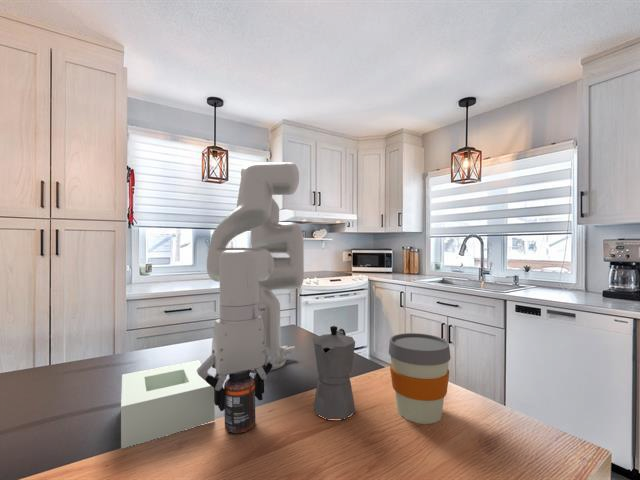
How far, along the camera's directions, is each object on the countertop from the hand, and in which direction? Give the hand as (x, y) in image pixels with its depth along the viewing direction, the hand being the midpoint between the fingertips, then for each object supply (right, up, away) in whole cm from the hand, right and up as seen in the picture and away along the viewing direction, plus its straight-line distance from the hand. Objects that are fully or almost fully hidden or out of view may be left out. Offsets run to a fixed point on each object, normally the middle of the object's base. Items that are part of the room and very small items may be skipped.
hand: (240, 401), depth 63 cm
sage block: (-16, -5, +4) cm, 18 cm away
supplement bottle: (0, -5, 0) cm, 5 cm away
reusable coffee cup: (+37, -5, +5) cm, 38 cm away
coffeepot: (+19, -5, +7) cm, 21 cm away
